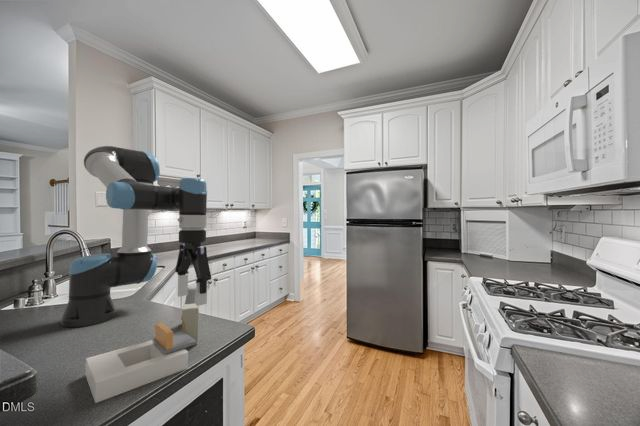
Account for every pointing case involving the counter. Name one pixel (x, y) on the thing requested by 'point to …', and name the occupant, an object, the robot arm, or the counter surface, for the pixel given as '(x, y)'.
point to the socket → (131, 368)
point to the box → (190, 320)
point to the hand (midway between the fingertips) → (191, 300)
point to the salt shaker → (191, 296)
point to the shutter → (171, 339)
